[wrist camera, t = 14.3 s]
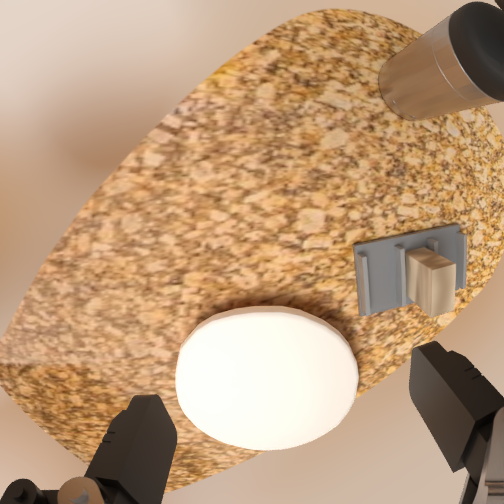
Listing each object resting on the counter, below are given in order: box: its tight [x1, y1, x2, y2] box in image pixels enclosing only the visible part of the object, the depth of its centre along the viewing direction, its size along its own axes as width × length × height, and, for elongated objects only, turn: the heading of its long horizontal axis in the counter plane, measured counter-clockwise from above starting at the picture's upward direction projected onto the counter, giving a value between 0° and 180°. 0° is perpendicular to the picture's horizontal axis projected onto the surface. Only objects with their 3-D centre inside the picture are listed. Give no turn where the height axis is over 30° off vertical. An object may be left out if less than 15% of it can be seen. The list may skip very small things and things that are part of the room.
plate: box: [176, 306, 359, 450], centre depth 41 cm, size 28×6×27 cm
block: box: [405, 247, 456, 318], centre depth 34 cm, size 4×6×8 cm, turn 11°
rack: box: [353, 224, 467, 316], centre depth 37 cm, size 17×10×3 cm, turn 101°
